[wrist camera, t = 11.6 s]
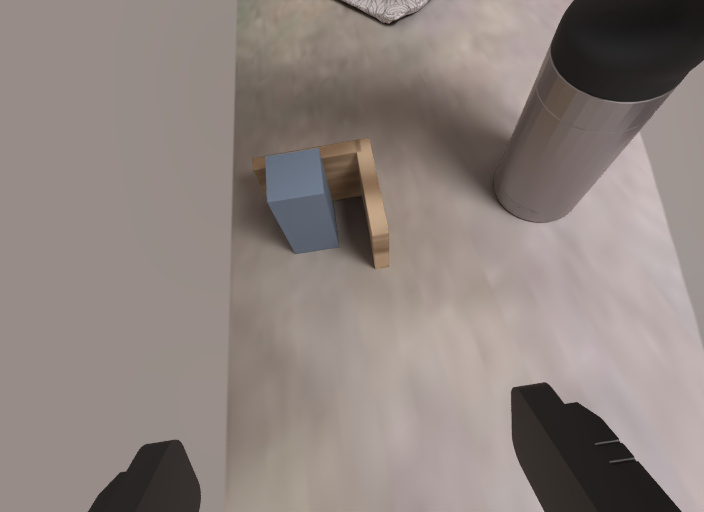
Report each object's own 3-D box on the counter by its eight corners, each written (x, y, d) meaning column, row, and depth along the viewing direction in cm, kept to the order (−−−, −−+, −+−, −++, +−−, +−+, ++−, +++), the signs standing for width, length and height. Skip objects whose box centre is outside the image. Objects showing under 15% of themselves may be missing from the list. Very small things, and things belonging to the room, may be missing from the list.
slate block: (334, 209, 45) (318, 147, 35) (339, 247, 43) (324, 193, 33) (292, 215, 45) (265, 156, 35) (295, 254, 43) (267, 202, 33)
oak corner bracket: (389, 266, 42) (389, 233, 34) (280, 284, 42) (257, 255, 35) (372, 183, 46) (369, 137, 39) (274, 200, 46) (252, 158, 39)
